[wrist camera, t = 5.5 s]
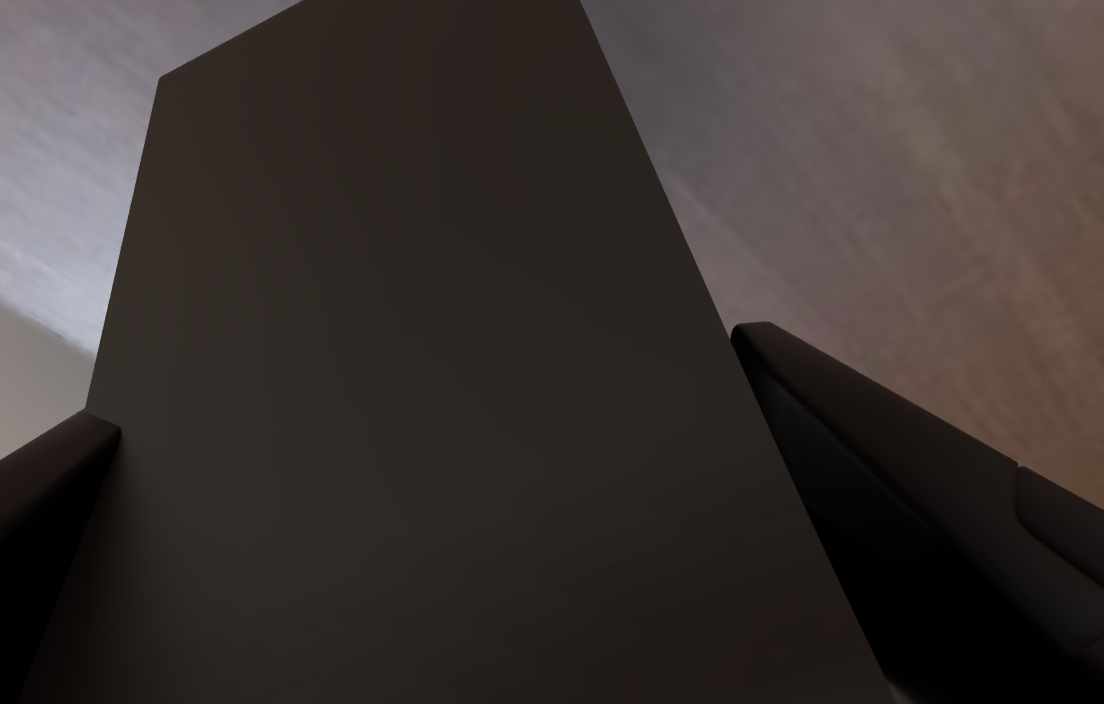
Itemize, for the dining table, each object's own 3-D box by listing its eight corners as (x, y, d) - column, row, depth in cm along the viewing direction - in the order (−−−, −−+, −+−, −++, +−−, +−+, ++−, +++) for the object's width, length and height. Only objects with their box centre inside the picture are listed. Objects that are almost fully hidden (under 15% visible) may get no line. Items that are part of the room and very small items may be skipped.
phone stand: (168, 68, 12) (-1915, 1395, 2) (530, -124, 11) (1033, 281, 1) (452, 473, 16) (368, 1481, 6) (724, 368, 15) (1162, 1380, 5)
